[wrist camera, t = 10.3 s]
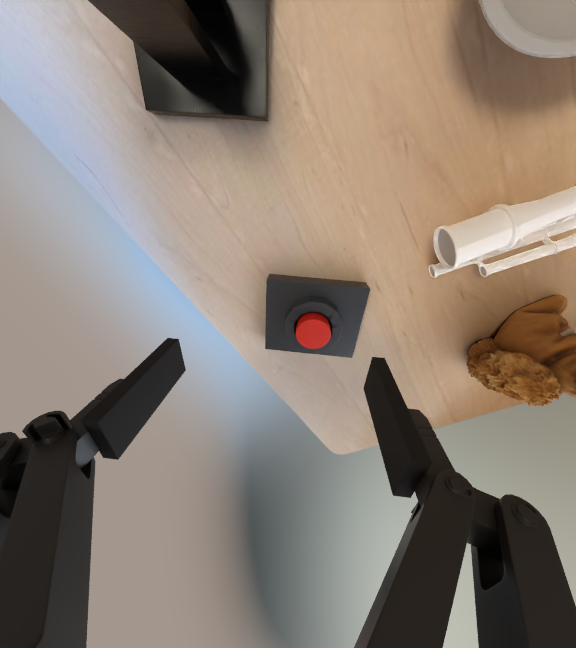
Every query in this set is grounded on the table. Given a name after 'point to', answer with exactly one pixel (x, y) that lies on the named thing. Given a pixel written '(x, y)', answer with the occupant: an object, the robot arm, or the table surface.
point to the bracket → (199, 54)
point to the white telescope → (506, 234)
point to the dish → (534, 25)
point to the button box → (314, 297)
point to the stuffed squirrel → (529, 354)
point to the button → (313, 331)
